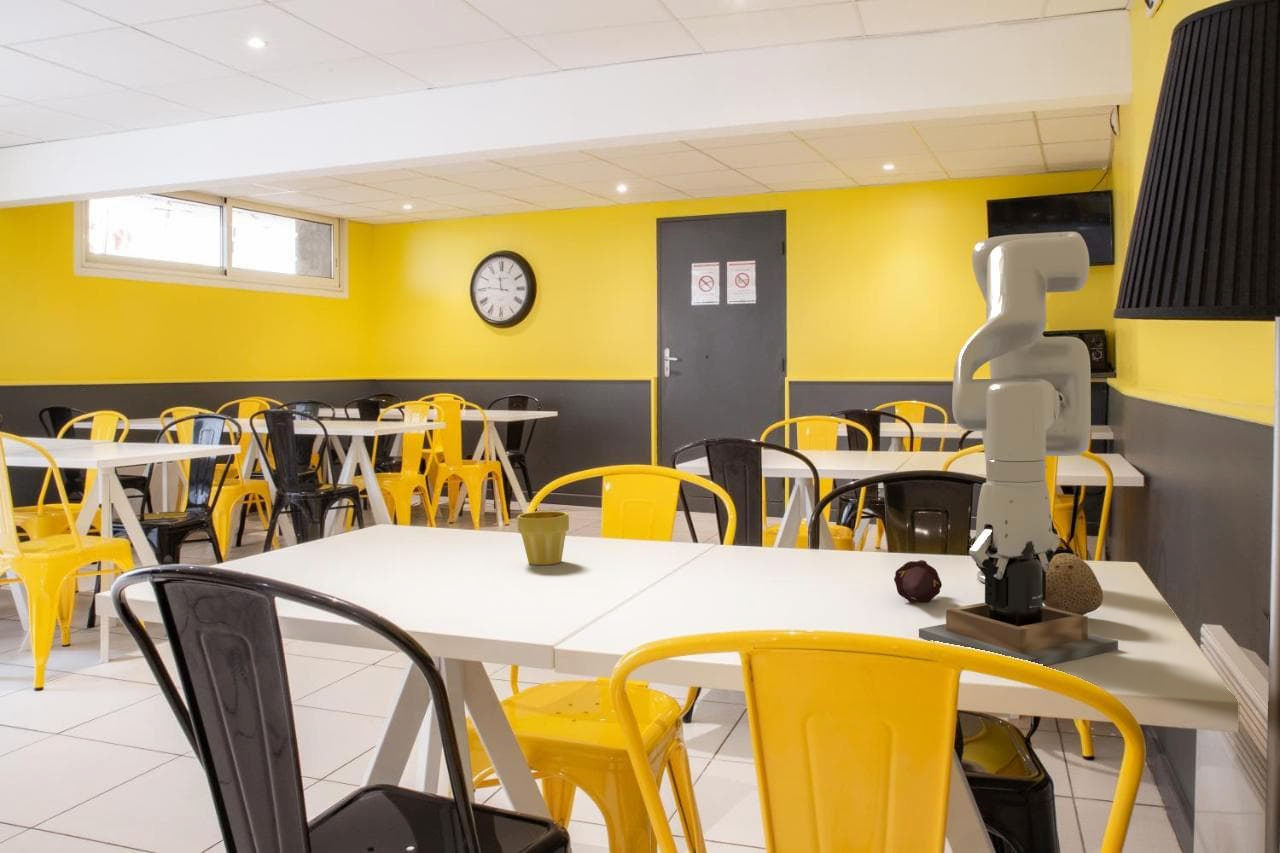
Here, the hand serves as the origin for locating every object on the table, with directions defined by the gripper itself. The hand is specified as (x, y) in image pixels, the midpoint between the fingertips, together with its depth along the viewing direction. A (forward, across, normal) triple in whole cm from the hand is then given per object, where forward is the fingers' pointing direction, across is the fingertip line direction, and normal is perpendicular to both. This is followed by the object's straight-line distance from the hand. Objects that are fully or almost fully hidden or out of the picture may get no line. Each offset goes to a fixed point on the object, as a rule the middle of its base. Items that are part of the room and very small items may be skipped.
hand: (1015, 601), depth 133 cm
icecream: (+6, -5, -25) cm, 26 cm away
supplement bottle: (+4, 0, 0) cm, 4 cm away
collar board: (+6, 0, 0) cm, 6 cm away
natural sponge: (+6, -16, -5) cm, 18 cm away
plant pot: (+6, +34, -89) cm, 95 cm away
